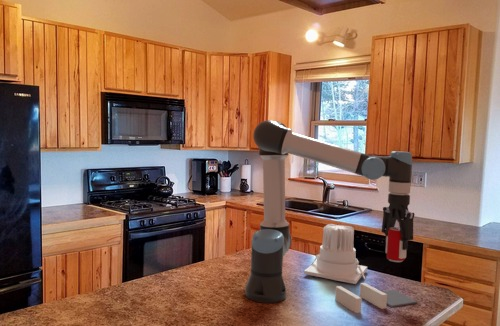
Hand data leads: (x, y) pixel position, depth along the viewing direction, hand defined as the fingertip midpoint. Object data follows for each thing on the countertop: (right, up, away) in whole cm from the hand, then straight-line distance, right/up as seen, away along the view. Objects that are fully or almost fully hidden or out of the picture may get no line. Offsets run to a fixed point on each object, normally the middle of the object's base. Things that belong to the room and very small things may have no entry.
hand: (395, 255), depth 152 cm
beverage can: (0, -2, 0) cm, 2 cm away
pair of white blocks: (-14, -16, -5) cm, 22 cm away
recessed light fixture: (-16, -15, +27) cm, 35 cm away
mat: (-1, -17, +1) cm, 17 cm away
